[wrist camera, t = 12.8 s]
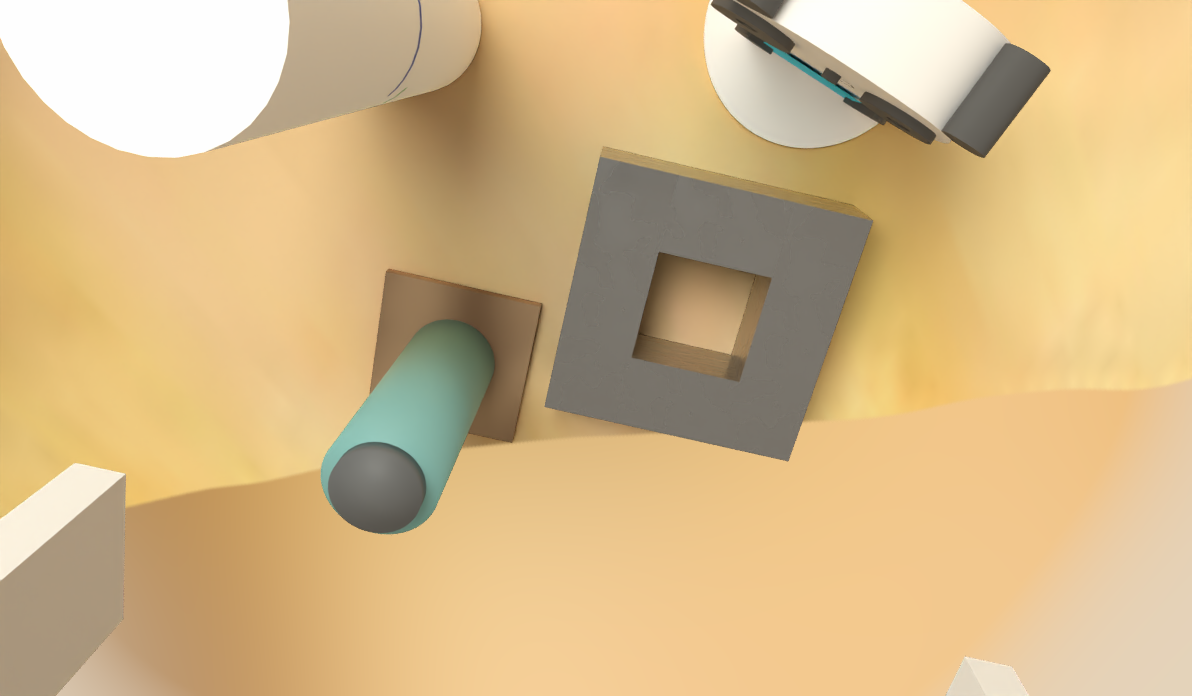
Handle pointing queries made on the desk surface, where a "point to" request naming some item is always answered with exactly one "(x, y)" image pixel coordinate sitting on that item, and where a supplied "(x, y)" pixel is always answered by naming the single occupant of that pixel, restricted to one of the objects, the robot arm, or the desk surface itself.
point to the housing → (721, 237)
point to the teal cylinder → (409, 430)
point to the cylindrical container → (230, 63)
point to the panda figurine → (866, 70)
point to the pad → (488, 312)
